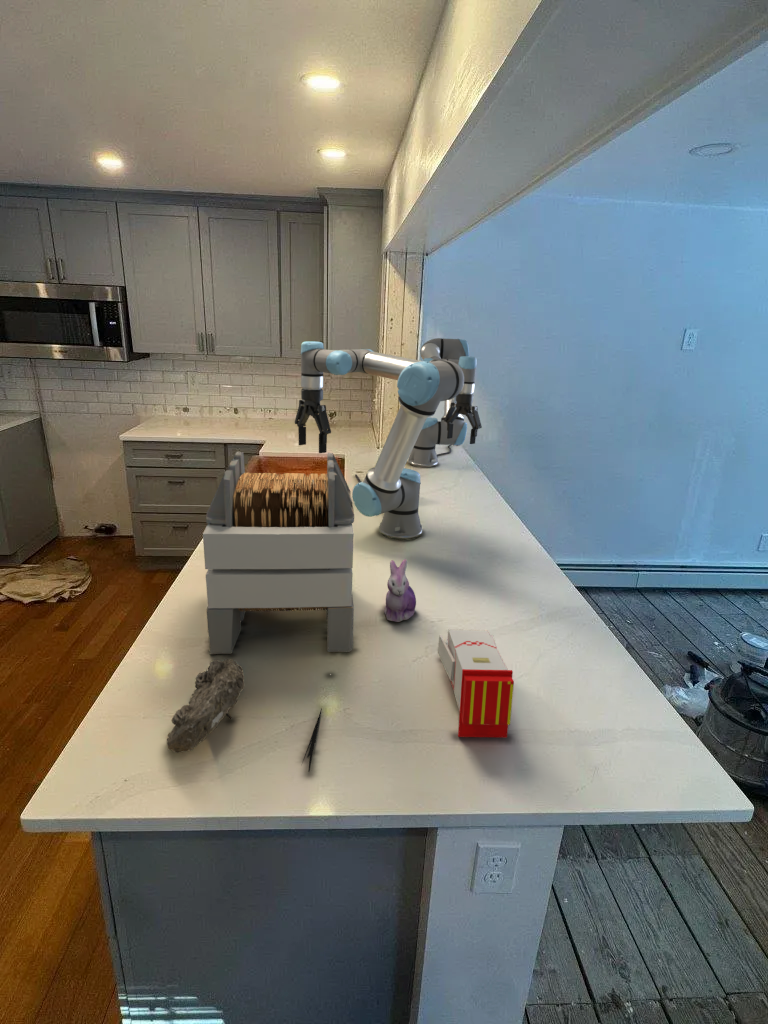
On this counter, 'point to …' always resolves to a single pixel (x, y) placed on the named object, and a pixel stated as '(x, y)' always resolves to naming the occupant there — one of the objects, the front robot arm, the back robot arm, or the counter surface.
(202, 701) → the grey long lumpy piece
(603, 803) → the counter surface
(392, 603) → the figurine
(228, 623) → the record crate
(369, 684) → the counter surface
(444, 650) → the toy
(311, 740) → the feather
